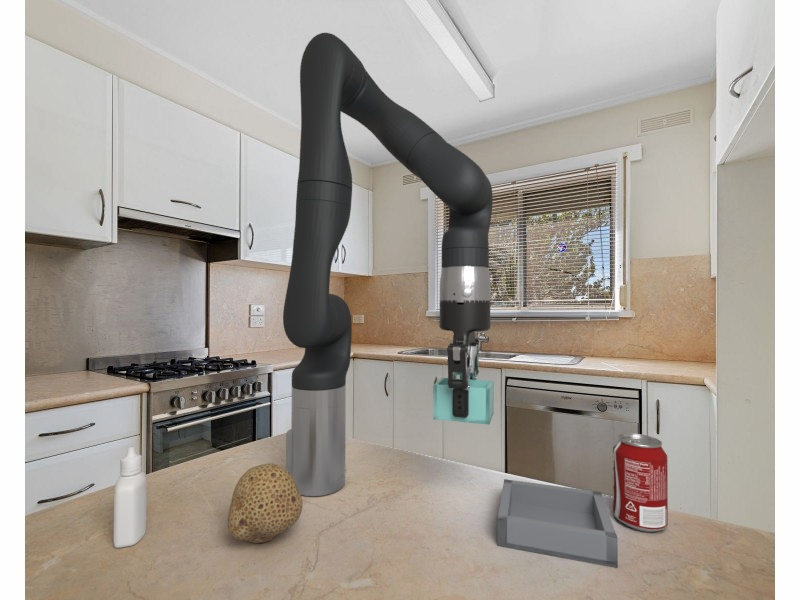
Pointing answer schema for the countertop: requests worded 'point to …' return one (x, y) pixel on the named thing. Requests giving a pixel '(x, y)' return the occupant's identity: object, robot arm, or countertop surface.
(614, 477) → the soda can
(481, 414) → the small crate
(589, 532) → the large crate
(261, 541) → the natural sponge
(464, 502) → the countertop surface
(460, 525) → the countertop surface
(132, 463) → the eye dropper bottle
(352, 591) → the countertop surface
